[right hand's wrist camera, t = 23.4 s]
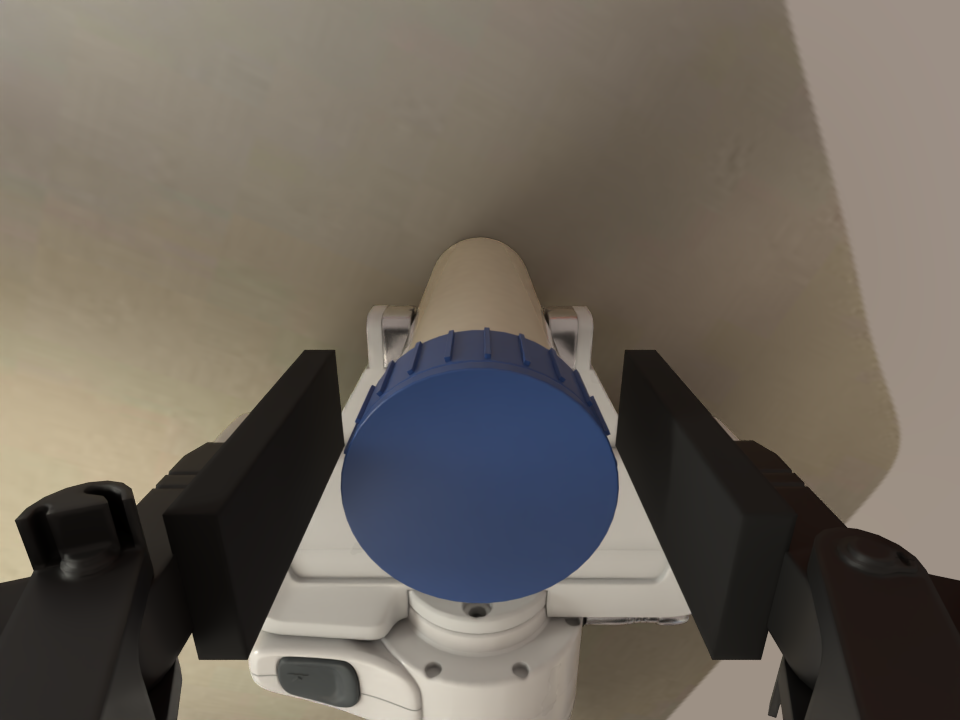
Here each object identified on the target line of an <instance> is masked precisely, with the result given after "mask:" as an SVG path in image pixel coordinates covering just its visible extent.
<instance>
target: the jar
mask: <svg viewBox="0 0 960 720" xmlns="http://www.w3.org/2000/svg"><path fill="white" fill-rule="evenodd" d="M484 327H489V328H490V330H492V331H500V332H506V333H510V334H514V335H518V336H519V333H521V334H524V336H525V338H526V339H529V340H531V341H534V342H536V343H538V344H540V345H542V346H543V347H545V348H547V349H550V348H553V349H554V350H555V351H556V354H557V356H558V357H560V355H559V352H558V349H557V347H556V344H555V342H554V339H553V336H552V334H551V331H550V329H549V326H548V323H547V321H546V318H545V316H544V313H543V310H542V308H541V305H540V302H539V300H538V297H537V295H536V292H535V289H534V287H533V284H532V282H531V279H530V276H529V274H528V271H527V269H526V266H525V264H524V262H523V261H522V259H521V258H520V256H519V255H518V254H517V253H516V252H515V251H514V250H513V249H511V248H510V247H509V246H507V245H506V244H504V243H502V242H500V241H497V240H494V239H490V238H480V237H478V238H470V239H466V240H463V241H460V242H458V243H456V244H454V245H452V246H451V247H450V248H448V249H447V250H446V251H445V252H444V253H443V254H442V255H441V256H440V258H439V259H438V261H437V262H436V264H435V266H434V268H433V271H432V273H431V276H430V278H429V281H428V284H427V286H426V289H425V291H424V294H423V297H422V299H421V302H420V304H419V307H418V310H417V312H416V315H415V317H414V320H413V323H412V325H411V328H410V330H409V333H408V336H407V338H406V341H405V343H404V346H403V349H402V351H401V354H400V356H399V358H400V357H401V356H403V355H404V354H405V353H407V352H408V351H409V350H411V349H413V348H414V347H415V345H416V343H417V342H419V341H421V343H423V342H426V341H428V340H431V339H433V338H436V337H438V336H442V335H446V334H448V332H449V331H450V330H454V332H459V331H467V330H484ZM560 358H561V357H560Z"/></svg>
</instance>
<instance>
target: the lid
mask: <svg viewBox="0 0 960 720" xmlns="http://www.w3.org/2000/svg"><path fill="white" fill-rule="evenodd" d="M355 423H356V424H355V427H354V429H353V431H352V433H351V436H350V438H349V440H348V442H347V444H346V447H345V449H344V454H345V457H344V462H343V467H342V472H341V497H342V504H343V508H344V512H345V516H346V519H347V522H348V524H349V526H350V529H351V531H352V533H353V535H354V536H355V538H356V540H357V541H358V543H359V545H360V546H361V548H362V549H363V550H364V551H365V552H366V554H367V555H368V556H369V557H370V559H372V560H373V561H374V562H375V563H376V564H377V565H378V566H379V567H380V568H381V569H382V570H383V571H385V572H386V573H387V574H389V575H390V576H392V577H393V578H394V579H396V580H398V581H399V582H401V583H403V584H405V585H406V586H408V587H410V588H412V589H415V590H417V591H419V592H421V593H424V594H427V595H430V596H433V597H437V598H440V599H445V600H450V601H455V602H464V603H495V602H505V601H510V600H515V599H519V598H523V597H526V596H529V595H533V594H536V593H538V592H540V591H543V590H545V589H547V588H550V587H552V586H553V585H555V584H557V583H559V582H560V581H562V580H564V579H565V578H567V577H568V576H569V575H571V574H572V573H574V572H575V571H576V570H578V569H579V568H580V567H581V566H582V565H583V564H584V563H585V562H586V561H587V560H588V559H589V558H590V557H591V556H592V554H593V553H594V552H595V551H596V550H597V548H598V547H599V546H600V544H601V542H602V541H603V539H604V537H605V536H606V534H607V532H608V530H609V528H610V525H611V523H612V521H613V518H614V514H615V511H616V507H617V503H618V493H619V476H618V469H617V466H618V464H617V460H616V458H615V455H614V453H613V450H612V447H611V445H610V442H609V440H608V437H607V436H608V435H610V431H609V429H608V427H607V424H606V422H605V420H604V418H603V416H602V413H601V411H600V409H599V407H598V405H597V403H596V400H595V398H594V396H591V397H590V396H589V394H588V391H587V389H586V387H585V384H584V382H583V380H582V378H581V375H580V373H579V372H578V370H577V369H576V370H574V371H573V370H572V369H571V368H570V367H569V366H568V365H567V364H566V363H565V362H564V361H563V360H562V359H561V358H560V357H558V356H557V354H556V351H555V350H554V349H553V348H550V349H547V348H545V347H543V346H542V345H540V344H538V343H536V342H534V341H531V340H529V339H526V338H525V336H524V334H521V333H519V336H518V335H514V334H510V333H506V332H500V331H492V330H490V328H489V327H484V330H467V331H459V332H454V330H450V331H449V332H448V334H446V335H442V336H438V337H436V338H433V339H431V340H428V341H426V342H423V343H421V341H419V342H417V343H416V345H415V347H414V348H413V349H411V350H409V351H408V352H407V353H405V354H404V355H403V356H401V357H400V358H399V359H398V360H397V361H395V362H394V361H393V360H392V361H391V362H389V364H388V367H387V369H386V371H385V373H384V375H383V376H382V377H381V378H380V380H379V381H378V383H377V385H376V386H374V385H371V387H370V389H369V391H368V394H367V396H366V398H365V400H364V402H363V404H362V407H361V409H360V411H359V413H358V415H357V418H356V420H355Z"/></svg>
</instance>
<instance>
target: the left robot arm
mask: <svg viewBox="0 0 960 720" xmlns="http://www.w3.org/2000/svg"><path fill="white" fill-rule="evenodd" d="M415 315H416V307H415V306H390V305H374V306H373V307H372V308H371V310H370V311H369V313H368V316H367V327H366V330H367V344H368V358H369V362H368V364H367V366H366V368H365V369H364V371H363V373H362V375H361V377H360V379H359V381H358V382H357V384H356V386H355V388H354V390H353V392H352V394H351V395H350V397H349V399H348V401H347V403H346V405H345V407H344V409H343V411H342V413H341V414H342V423H343V433H344V443H345V446H344V448H343V451H342V453H341V455H340V457H339V459H338V462H337V464H336V466H335V468H334V470H333V473H332V475H331V477H330V479H329V481H328V484H327V486H326V488H325V490H324V492H323V495H322V497H321V499H320V501H319V503H318V506H317V508H316V510H315V512H314V514H313V517H312V519H311V521H310V523H309V525H308V528H307V530H306V532H305V534H304V537H303V539H302V541H301V543H300V545H299V548H298V550H297V552H296V554H295V556H294V559H293V561H292V563H291V565H290V567H289V570H288V572H287V574H286V576H285V578H284V581H283V583H282V585H281V587H280V589H279V592H278V594H277V596H276V598H275V600H274V603H273V605H272V607H271V609H270V611H269V614H268V616H267V618H266V620H265V623H264V625H263V627H262V629H261V631H260V634H259V636H258V638H257V640H256V642H255V645H254V647H253V649H252V651H251V653H250V656H249V669H250V673H251V676H252V678H253V680H254V681H255V683H256V684H257V685H259V686H260V687H262V688H264V689H266V690H268V691H271V692H275V693H279V694H283V695H287V696H291V697H296V698H300V699H304V700H308V701H312V702H316V703H320V704H323V705H327V706H330V707H334V708H337V709H340V710H343V711H346V712H349V713H351V714H354V715H357V716H359V717H362V718H364V719H367V720H570V718H571V715H572V711H573V708H574V702H575V695H576V685H577V675H578V665H579V654H580V645H581V634H582V627H583V626H584V625H625V624H632V623H639V622H640V623H644V622H646V623H656V624H658V625H677V624H683V623H686V622H688V619H689V615H692V614H691V611H690V609H689V607H688V605H687V603H686V600H685V598H684V596H683V594H682V592H681V589H680V587H679V585H678V583H677V581H676V578H675V576H674V574H673V572H672V570H671V567H670V565H669V563H668V561H667V559H666V556H665V554H664V552H663V550H662V548H661V545H660V543H659V541H658V539H657V537H656V534H655V532H654V530H653V528H652V525H651V523H650V521H649V519H648V517H647V514H646V512H645V510H644V508H643V506H642V503H641V501H640V499H639V497H638V495H637V492H636V490H635V488H634V486H633V484H632V481H631V479H630V477H629V475H628V473H627V470H626V468H625V466H624V464H623V462H622V459H621V457H620V455H619V453H618V451H617V448H616V446H615V443H616V433H617V423H618V414H617V412H616V410H615V408H614V407H613V405H612V403H611V401H610V399H609V397H608V395H607V393H606V391H605V389H604V387H603V385H602V383H601V381H600V379H599V378H598V376H597V374H596V372H595V370H594V368H593V366H592V364H591V352H592V340H593V328H594V327H593V317H592V314H591V312H590V311H589V310H588V308H587V307H586V306H545V308H544V316H545V318H546V321H547V323H548V326H549V329H550V331H551V334H552V336H553V339H554V342H555V344H556V347H557V349H558V352H559V355H560V357H561V359H562V360H563V361H564V362H565V363H566V364H567V365H568V366H569V367H570V368H571V369H572V370H573V371H574V370H576V369H577V370H578V372H579V373H580V375H581V378H582V380H583V382H584V384H585V387H586V389H587V391H588V394H589V396H590V397H591V396H594V398H595V400H596V403H597V405H598V407H599V409H600V411H601V413H602V416H603V418H604V420H605V422H606V424H607V427H608V429H609V431H610V435H608V436H607V437H608V440H609V442H610V445H611V447H612V450H613V453H614V455H615V458H616V460H617V464H618V466H617V469H618V476H619V493H618V503H617V507H616V511H615V514H614V518H613V521H612V523H611V525H610V528H609V530H608V532H607V534H606V536H605V537H604V539H603V541H602V542H601V544H600V546H599V547H598V548H597V550H596V551H595V552H594V553H593V554H592V556H591V557H590V558H589V559H588V560H587V561H586V562H585V563H584V564H583V565H582V566H581V567H580V568H579V569H578V570H576V571H575V572H574V573H572V574H571V575H569V576H568V577H567V578H565V579H564V580H562V581H560V582H559V583H557V584H555V585H553V586H552V587H550V588H547V589H545V590H543V591H540V592H538V593H536V594H533V595H529V596H526V597H523V598H519V599H515V600H510V601H505V602H495V603H464V602H455V601H450V600H445V599H440V598H437V597H433V596H430V595H427V594H424V593H421V592H419V591H417V590H415V589H412V588H410V587H408V586H406V585H405V584H403V583H401V582H399V581H398V580H396V579H394V578H393V577H392V576H390V575H389V574H387V573H386V572H385V571H383V570H382V569H381V568H380V567H379V566H378V565H377V564H376V563H375V562H374V561H373V560H372V559H370V557H369V556H368V555H367V554H366V552H365V551H364V550H363V549H362V548H361V546H360V545H359V543H358V541H357V540H356V538H355V536H354V535H353V533H352V531H351V529H350V526H349V524H348V522H347V519H346V516H345V512H344V508H343V504H342V497H341V472H342V467H343V462H344V457H345V454H344V449H345V447H346V444H347V442H348V440H349V438H350V436H351V433H352V431H353V429H354V427H355V424H356V423H355V420H356V418H357V415H358V413H359V411H360V409H361V407H362V404H363V402H364V400H365V398H366V396H367V394H368V391H369V389H370V387H371V385H374V386H376V385H377V383H378V381H379V380H380V378H381V377H382V376H383V375H384V373H385V371H386V369H387V367H388V364H389V362H391V361H392V360H393V361H394V362H395V361H397V360H398V359H399V356H400V354H401V351H402V349H403V346H404V343H405V341H406V338H407V336H408V333H409V330H410V328H411V325H412V323H413V320H414V317H415ZM249 414H250V413H245V414H242V415H240V416H238V417H237V418H236V419H235V420H234V421H233V422H232V423H231V424H230V425H229V426H228V427H227V428H226V429H225V430H224V431H223V432H222V433H221V434H220V435H219V436H218V437H217V438H216V439H215V440H214V441H213V442H225V441H226V440H227V439H228V438H229V437H230V436H231V434H232V433H233V432H234V431H235V430H236V429H237V428H238V426H239V425H240V424H241V423H242V422H243V421H244V419H245V418H246V417H247V416H248V415H249ZM713 417H714V416H713ZM714 418H715V417H714ZM715 419H716V421H717V422H718V423H719V424H720V425H721V426H722V428H723V429H724V430H725V431H726V432H727V433H728V434H729V436H730V437H731V438H732V439H733V440H734V441H740V440H739V439H738V438H737V437H736V436H735V435H734V434H733V433H732V432H731V431H730V430H729V429H728V428H727V427H726V426H725V425H724V424H723V423H722V422H721V421H720V420H719V419H717V418H715Z"/></svg>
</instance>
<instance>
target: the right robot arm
mask: <svg viewBox="0 0 960 720" xmlns="http://www.w3.org/2000/svg"><path fill="white" fill-rule="evenodd" d="M344 446H345V443H344V433H343V423H342V414H341V404H340V394H339V384H338V375H337V365H336V355H335V350H304V351H303V352H302V354H301V355H300V356H299V357H298V358H297V359H296V361H295V362H294V363H293V364H292V365H291V366H290V367H289V369H288V370H287V371H286V372H285V373H284V374H283V376H282V377H281V378H280V379H279V380H278V381H277V382H276V384H275V385H274V386H273V387H272V388H271V389H270V391H269V392H268V393H267V394H266V395H265V396H264V398H263V399H262V400H261V401H260V402H259V403H258V404H257V406H256V407H255V408H254V409H253V410H252V411H251V413H250V414H249V415H248V416H247V417H246V418H245V419H244V421H243V422H242V423H241V424H240V425H239V426H238V428H237V429H236V430H235V431H234V432H233V433H232V434H231V436H230V437H229V438H228V439H227V440H226V441H225V442H207V443H206V444H204V445H202V446H200V447H199V448H197V449H195V450H194V451H192V452H190V453H188V454H187V455H185V456H184V457H183V458H182V459H181V460H180V461H179V462H178V463H177V464H176V465H175V466H174V467H173V468H172V469H171V470H170V471H169V475H165V476H164V477H163V479H162V480H161V481H160V482H159V483H158V484H157V485H156V489H152V490H151V491H150V492H149V493H148V494H147V495H146V496H145V497H144V498H143V499H142V500H141V501H140V503H139V504H138V505H137V506H136V503H135V499H134V496H133V492H132V489H131V488H130V487H128V486H127V485H125V484H124V483H120V482H114V481H99V482H88V483H84V484H80V485H76V486H72V487H69V488H65V489H63V490H60V491H58V492H56V493H53V494H51V495H48V496H46V497H44V498H42V499H41V500H39V501H37V502H36V503H34V504H33V505H31V506H29V507H28V508H26V509H25V510H24V511H23V512H22V514H21V515H20V516H19V517H18V518H17V519H16V520H15V522H16V525H17V527H18V530H19V533H20V535H21V538H22V541H23V543H24V546H25V549H26V551H27V554H28V557H29V559H30V562H31V565H32V567H33V570H34V572H33V574H32V576H31V577H28V578H23V579H18V580H13V581H8V582H4V583H0V720H177V716H178V709H179V701H180V693H181V686H182V674H181V668H180V664H179V660H178V655H179V654H180V652H181V650H182V648H183V647H184V645H185V643H186V642H187V640H188V638H189V637H190V635H191V633H192V634H193V638H194V642H195V646H196V650H197V654H198V658H199V660H248V658H249V656H250V653H251V651H252V649H253V647H254V645H255V642H256V640H257V638H258V636H259V634H260V631H261V629H262V627H263V625H264V623H265V620H266V618H267V616H268V614H269V611H270V609H271V607H272V605H273V603H274V600H275V598H276V596H277V594H278V592H279V589H280V587H281V585H282V583H283V581H284V578H285V576H286V574H287V572H288V570H289V567H290V565H291V563H292V561H293V559H294V556H295V554H296V552H297V550H298V548H299V545H300V543H301V541H302V539H303V537H304V534H305V532H306V530H307V528H308V525H309V523H310V521H311V519H312V517H313V514H314V512H315V510H316V508H317V506H318V503H319V501H320V499H321V497H322V495H323V492H324V490H325V488H326V486H327V484H328V481H329V479H330V477H331V475H332V473H333V470H334V468H335V466H336V464H337V462H338V459H339V457H340V455H341V453H342V451H343V448H344ZM615 446H616V448H617V451H618V453H619V455H620V457H621V459H622V462H623V464H624V466H625V468H626V470H627V473H628V475H629V477H630V479H631V481H632V484H633V486H634V488H635V490H636V492H637V495H638V497H639V499H640V501H641V503H642V506H643V508H644V510H645V512H646V514H647V517H648V519H649V521H650V523H651V525H652V528H653V530H654V532H655V534H656V537H657V539H658V541H659V543H660V545H661V548H662V550H663V552H664V554H665V556H666V559H667V561H668V563H669V565H670V567H671V570H672V572H673V574H674V576H675V578H676V581H677V583H678V585H679V587H680V589H681V592H682V594H683V596H684V598H685V600H686V603H687V605H688V607H689V609H690V611H691V614H692V616H693V618H694V620H695V623H696V625H697V627H698V629H699V631H700V634H701V636H702V638H703V640H704V642H705V645H706V647H707V649H708V651H709V653H710V656H711V658H712V660H761V658H762V654H763V650H764V646H765V642H766V638H767V634H768V630H769V632H770V634H771V635H772V637H773V639H774V640H775V642H776V644H777V646H778V647H779V649H780V651H781V652H782V654H783V657H782V660H781V664H780V668H779V671H778V675H777V679H776V682H775V686H774V690H773V693H772V697H771V701H770V705H769V712H768V715H769V716H772V717H775V718H776V717H777V713H778V710H779V706H780V704H781V707H782V714H783V720H960V581H959V580H954V579H949V578H945V577H940V576H935V575H931V574H928V573H927V571H926V569H925V568H924V567H923V566H922V564H921V563H920V562H919V561H918V559H917V558H916V557H915V556H913V555H912V554H911V553H909V552H908V551H907V550H905V549H904V548H902V547H901V546H900V545H898V544H896V543H894V542H892V541H890V540H888V539H885V538H883V537H881V536H879V535H876V534H873V533H870V532H866V531H863V530H859V529H853V528H847V527H846V526H845V525H844V524H843V523H842V522H841V521H840V520H839V518H838V517H837V516H836V515H835V514H834V513H833V512H832V511H831V510H830V509H829V508H828V507H827V506H826V505H825V504H824V503H823V502H822V501H821V500H820V499H819V498H818V497H817V496H816V495H815V494H814V493H813V492H812V491H811V489H810V488H809V487H805V486H804V482H803V481H802V480H801V479H800V478H799V477H798V476H797V475H796V474H795V473H792V470H791V469H790V468H789V467H788V466H787V465H786V464H785V463H784V462H783V461H782V459H781V458H780V457H779V456H778V455H777V454H775V453H774V452H772V451H770V450H768V449H767V448H765V447H763V446H761V445H760V444H758V443H756V442H755V441H734V440H733V439H732V438H731V437H730V436H729V434H728V433H727V432H726V431H725V430H724V429H723V428H722V426H721V425H720V424H719V423H718V422H717V421H716V419H715V418H714V417H713V416H712V415H711V414H710V413H709V411H708V410H707V409H706V408H705V407H704V406H703V404H702V403H701V402H700V401H699V400H698V399H697V398H696V396H695V395H694V394H693V393H692V392H691V391H690V389H689V388H688V387H687V386H686V385H685V384H684V382H683V381H682V380H681V379H680V378H679V377H678V376H677V374H676V373H675V372H674V371H673V370H672V369H671V367H670V366H669V365H668V364H667V363H666V362H665V361H664V359H663V358H662V357H661V356H660V355H659V354H658V352H657V351H656V350H625V355H624V365H623V375H622V384H621V394H620V404H619V414H618V423H617V433H616V443H615Z"/></svg>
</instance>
